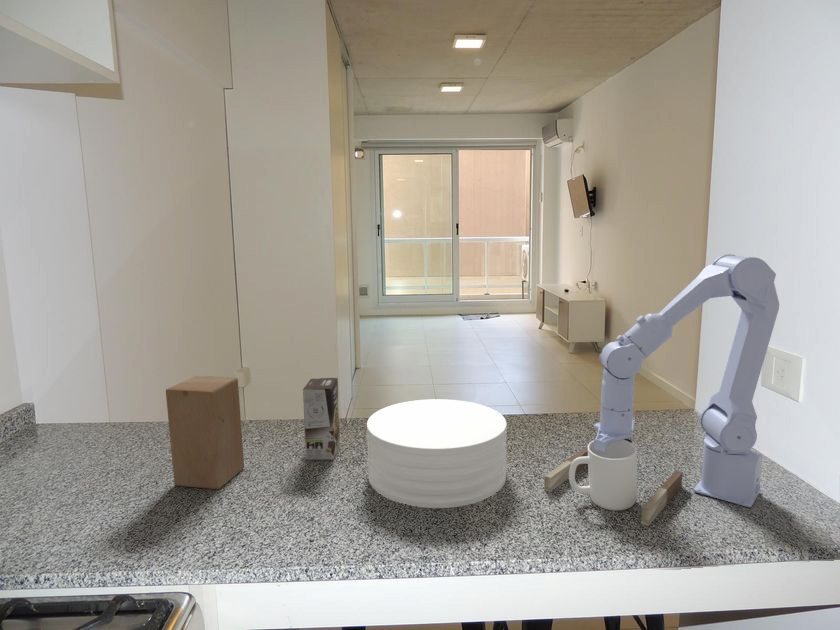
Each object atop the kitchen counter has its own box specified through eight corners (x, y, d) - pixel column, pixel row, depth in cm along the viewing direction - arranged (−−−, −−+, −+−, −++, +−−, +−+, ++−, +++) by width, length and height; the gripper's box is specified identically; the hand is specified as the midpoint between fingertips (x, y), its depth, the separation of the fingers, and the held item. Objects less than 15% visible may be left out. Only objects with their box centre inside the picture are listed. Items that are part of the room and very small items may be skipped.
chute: (681, 486, 106) (682, 472, 105) (648, 526, 93) (649, 509, 92) (585, 459, 119) (586, 446, 118) (544, 490, 105) (544, 475, 105)
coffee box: (334, 460, 121) (331, 388, 118) (305, 460, 121) (301, 389, 118) (341, 443, 130) (338, 377, 127) (314, 443, 130) (310, 377, 127)
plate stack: (466, 439, 132) (466, 392, 130) (533, 490, 106) (534, 433, 104) (352, 459, 121) (350, 409, 119) (396, 522, 95) (395, 459, 94)
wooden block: (219, 490, 108) (211, 391, 104) (173, 486, 110) (164, 389, 106) (245, 468, 117) (238, 376, 114) (202, 464, 119) (195, 375, 116)
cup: (644, 509, 97) (644, 457, 95) (576, 515, 97) (574, 463, 95) (626, 484, 105) (626, 435, 103) (563, 490, 106) (561, 441, 103)
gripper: (611, 393, 111) (608, 456, 113) (579, 411, 100) (576, 481, 103) (647, 400, 107) (643, 466, 109) (617, 420, 96) (613, 493, 98)
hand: (613, 474), depth 106 cm, fingers closed, pressing on cup
